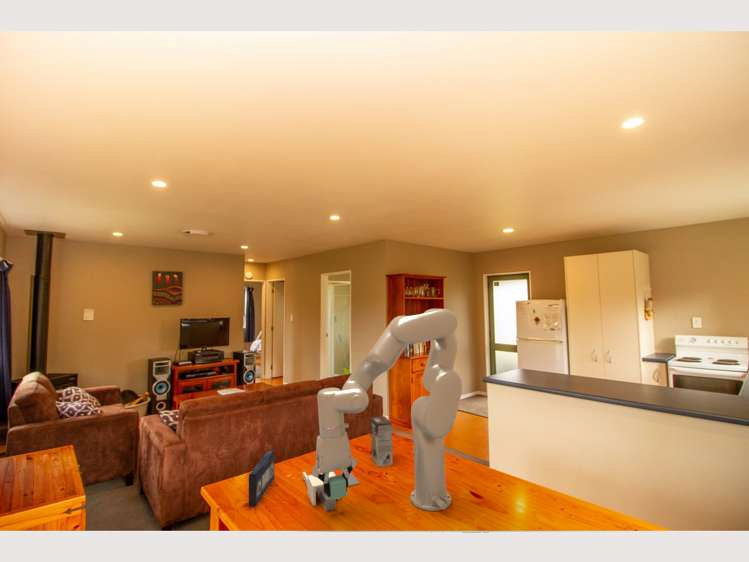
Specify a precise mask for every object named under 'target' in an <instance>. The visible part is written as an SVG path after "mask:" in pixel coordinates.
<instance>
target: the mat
mask: <svg viewBox="0 0 749 562" xmlns="http://www.w3.org/2000/svg"><path fill="white" fill-rule="evenodd" d="M340 474H341V475H342V473H340ZM360 484H361V483H360V482H359V480H358V479H357V478H356V476H355V475H354V474H353V473H352V472H351V473H350V474H349V477H348V486H350V487H354V486H353V485H355V486H358V485H360Z"/></svg>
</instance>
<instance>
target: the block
mask: <svg viewBox="0 0 749 562" xmlns="http://www.w3.org/2000/svg"><path fill="white" fill-rule="evenodd" d="M341 474H342V473H340V474H337V475H336V474H335V475H336V476H332V477H329V478H328V480H329V483H330V495H331V496H330V498H331V499H332V500H335V499H336V500H337V499H338V498H340V499H341V498H344V497H347V496H348V495H347V493H348V491H347V492H346V480H345V479H344V477H343V476H342V475H341Z"/></svg>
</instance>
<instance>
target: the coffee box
mask: <svg viewBox="0 0 749 562" xmlns="http://www.w3.org/2000/svg"><path fill="white" fill-rule="evenodd" d="M369 420H370V425H369V426H370V453H371V454H370V455H371V459H372V460H373V462H374V463H375V465H376V466H377V467H378V468H380V466H381V467H387V465H388V466H392V464H394V463H393V462H394V461H393V423H392V421H390V420H389V419H388V418H387V417H386V416H385V415H383V416H373V417H370V418H369Z"/></svg>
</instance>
